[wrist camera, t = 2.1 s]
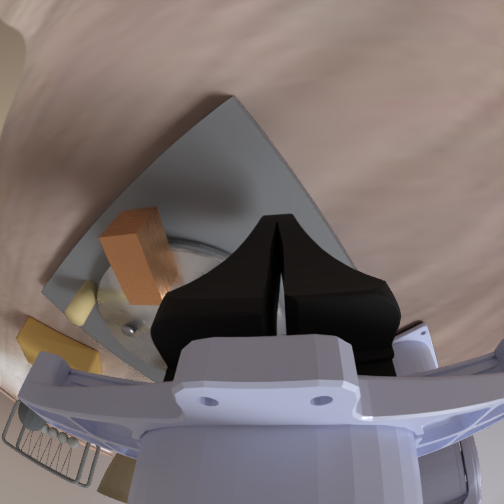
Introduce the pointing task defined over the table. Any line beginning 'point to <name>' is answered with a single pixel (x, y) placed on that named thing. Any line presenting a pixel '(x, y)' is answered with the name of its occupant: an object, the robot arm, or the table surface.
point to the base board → (194, 211)
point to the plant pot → (118, 478)
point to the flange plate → (147, 313)
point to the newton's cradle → (63, 439)
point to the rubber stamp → (51, 341)
